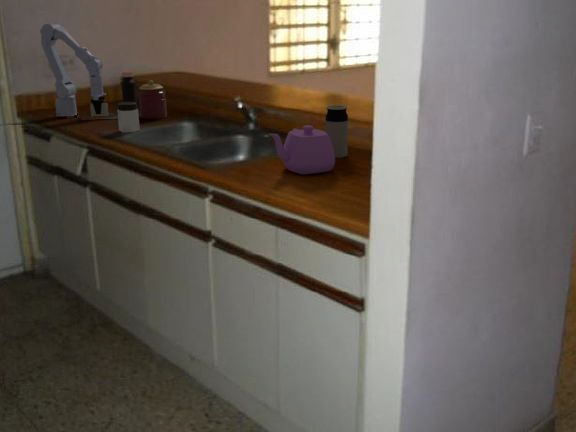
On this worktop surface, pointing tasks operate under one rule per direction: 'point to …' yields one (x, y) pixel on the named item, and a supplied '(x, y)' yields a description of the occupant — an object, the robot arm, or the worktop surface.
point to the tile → (103, 110)
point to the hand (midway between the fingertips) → (99, 112)
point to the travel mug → (337, 129)
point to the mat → (111, 116)
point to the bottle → (128, 88)
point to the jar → (128, 117)
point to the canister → (152, 101)
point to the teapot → (306, 151)
